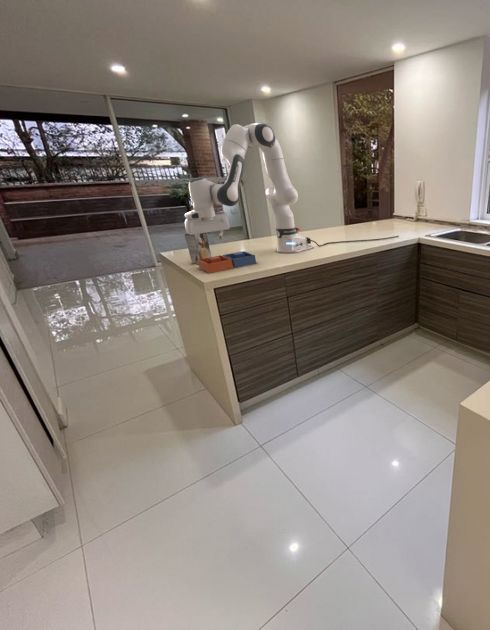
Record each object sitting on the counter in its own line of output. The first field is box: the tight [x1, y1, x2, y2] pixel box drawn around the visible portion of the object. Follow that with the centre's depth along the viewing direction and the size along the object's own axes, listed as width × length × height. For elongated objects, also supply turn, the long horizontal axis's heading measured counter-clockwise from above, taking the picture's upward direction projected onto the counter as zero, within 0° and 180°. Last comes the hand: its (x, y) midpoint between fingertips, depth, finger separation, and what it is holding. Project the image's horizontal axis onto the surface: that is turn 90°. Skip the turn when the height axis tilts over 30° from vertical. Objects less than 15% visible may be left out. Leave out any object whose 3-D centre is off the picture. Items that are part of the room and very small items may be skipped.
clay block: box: [207, 255, 221, 264], centre depth 177 cm, size 5×5×5 cm
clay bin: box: [198, 255, 234, 274], centre depth 177 cm, size 12×13×5 cm
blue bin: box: [221, 250, 257, 269], centre depth 186 cm, size 12×13×5 cm
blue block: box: [231, 251, 245, 259], centre depth 186 cm, size 5×5×5 cm
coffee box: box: [184, 233, 212, 265], centre depth 187 cm, size 9×6×16 cm
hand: (211, 240), depth 173 cm, fingers open, 8 cm apart
